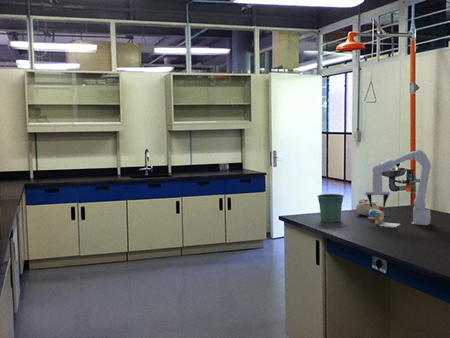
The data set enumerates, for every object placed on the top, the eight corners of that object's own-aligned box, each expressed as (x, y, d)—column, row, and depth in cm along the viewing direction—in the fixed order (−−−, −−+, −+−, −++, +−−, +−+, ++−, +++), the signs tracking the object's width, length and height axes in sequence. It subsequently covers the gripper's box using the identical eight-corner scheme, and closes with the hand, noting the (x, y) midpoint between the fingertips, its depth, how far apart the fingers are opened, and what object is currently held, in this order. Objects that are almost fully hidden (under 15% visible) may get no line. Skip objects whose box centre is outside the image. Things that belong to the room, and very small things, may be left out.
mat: (400, 224, 302) (400, 223, 302) (395, 227, 294) (395, 226, 294) (383, 223, 308) (383, 222, 307) (378, 226, 299) (378, 225, 299)
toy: (359, 209, 314) (355, 197, 342) (357, 225, 316) (353, 211, 345) (390, 212, 311) (383, 199, 340) (388, 228, 313) (381, 214, 342)
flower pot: (333, 224, 307) (333, 198, 305) (312, 221, 319) (311, 196, 318) (349, 220, 318) (349, 195, 316) (327, 217, 330) (327, 193, 329)
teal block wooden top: (383, 222, 308) (383, 211, 308) (380, 224, 304) (380, 213, 303) (378, 222, 310) (378, 211, 310) (375, 224, 306) (375, 212, 305)
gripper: (389, 184, 311) (389, 205, 313) (364, 184, 314) (364, 205, 316) (390, 185, 305) (390, 207, 306) (365, 185, 307) (365, 207, 309)
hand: (377, 206), depth 310 cm, fingers open, 7 cm apart
